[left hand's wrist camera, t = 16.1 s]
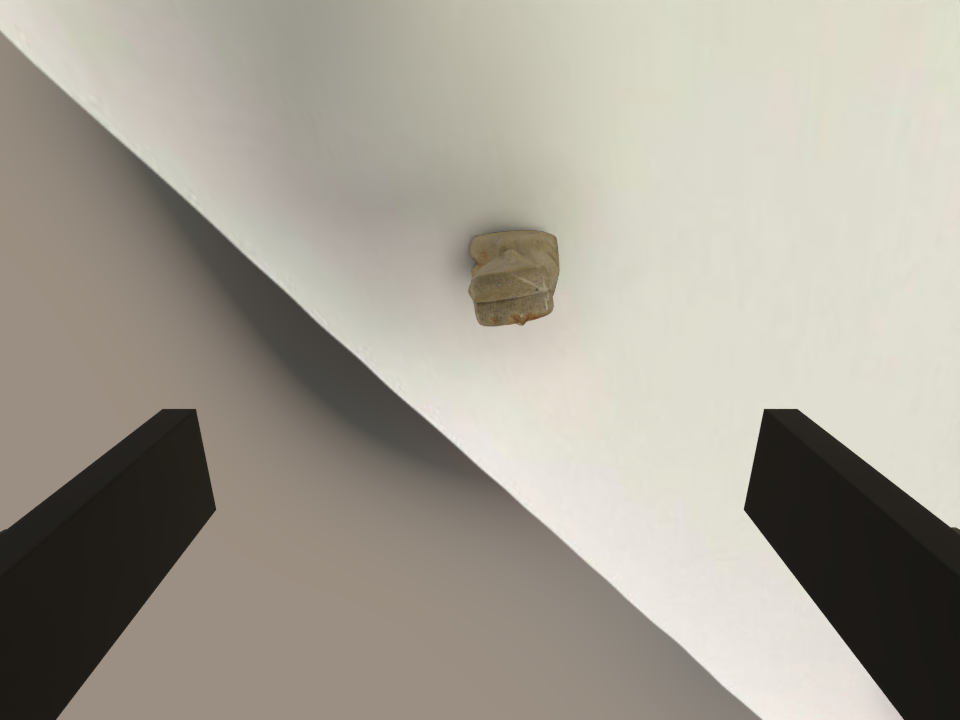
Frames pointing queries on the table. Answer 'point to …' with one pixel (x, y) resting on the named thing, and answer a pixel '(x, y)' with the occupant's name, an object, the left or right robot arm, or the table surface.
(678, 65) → the table surface
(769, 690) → the table surface
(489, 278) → the sculpture
